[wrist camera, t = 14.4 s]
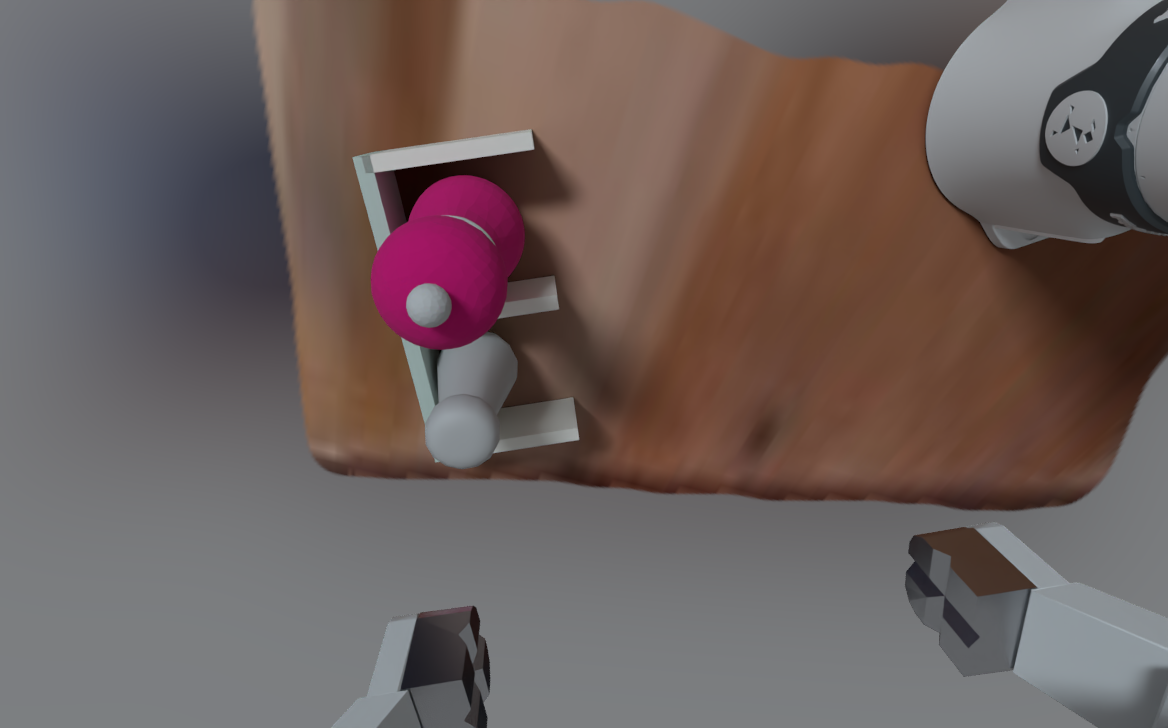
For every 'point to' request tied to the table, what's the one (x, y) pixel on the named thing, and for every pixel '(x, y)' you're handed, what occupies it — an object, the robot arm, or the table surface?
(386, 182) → the condiment rack
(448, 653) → the robot arm
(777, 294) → the table surface
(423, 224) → the pepper mill
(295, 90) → the table surface
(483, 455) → the salt shaker
